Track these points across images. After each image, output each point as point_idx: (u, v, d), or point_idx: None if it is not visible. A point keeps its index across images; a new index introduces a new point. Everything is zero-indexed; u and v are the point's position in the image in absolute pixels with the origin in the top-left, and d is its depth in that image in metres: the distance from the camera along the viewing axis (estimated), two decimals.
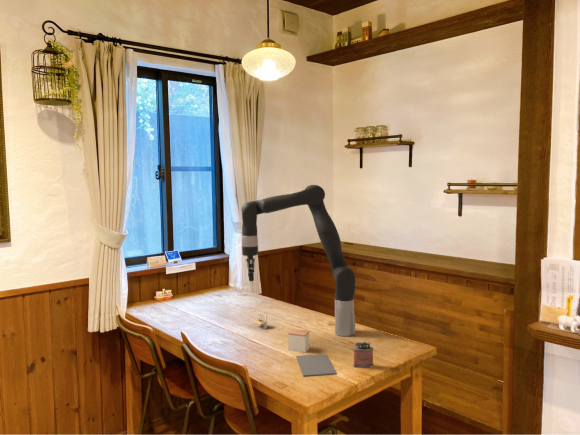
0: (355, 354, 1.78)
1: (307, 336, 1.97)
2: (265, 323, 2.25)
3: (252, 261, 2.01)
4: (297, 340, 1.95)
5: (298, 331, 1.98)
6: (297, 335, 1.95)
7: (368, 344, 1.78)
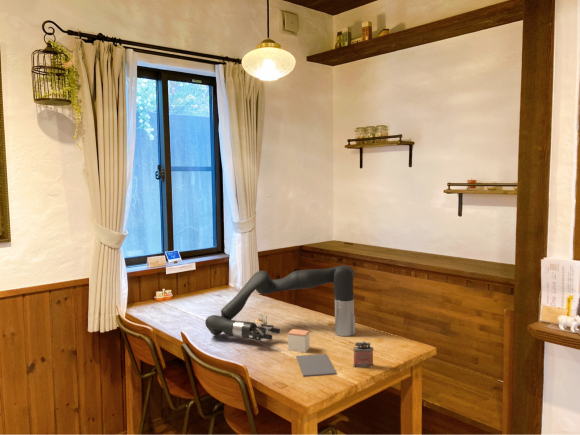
0: (355, 354, 1.78)
1: (307, 336, 1.97)
2: (265, 323, 2.25)
3: None
4: (297, 340, 1.95)
5: (298, 331, 1.98)
6: (297, 335, 1.95)
7: (368, 344, 1.78)
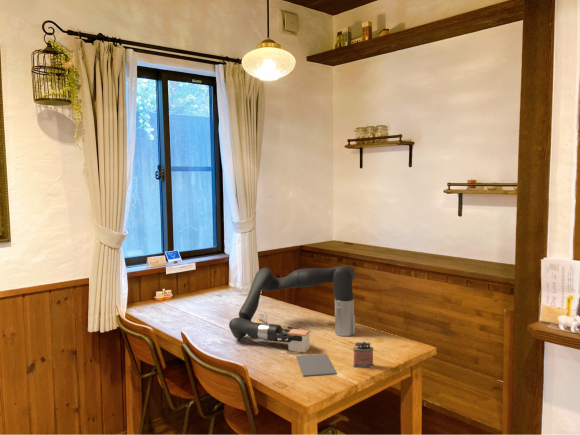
0: (355, 354, 1.78)
1: (307, 336, 1.97)
2: None
3: None
4: None
5: (298, 331, 1.98)
6: (297, 335, 1.95)
7: (368, 344, 1.78)
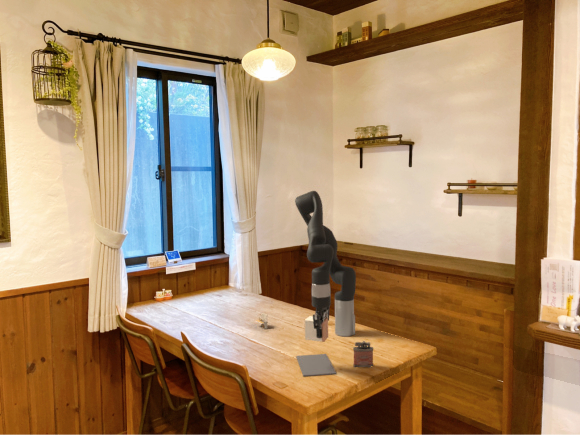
0: (355, 354, 1.78)
1: None
2: (265, 323, 2.26)
3: None
4: None
5: (326, 328, 1.78)
6: (322, 333, 1.75)
7: (368, 344, 1.78)
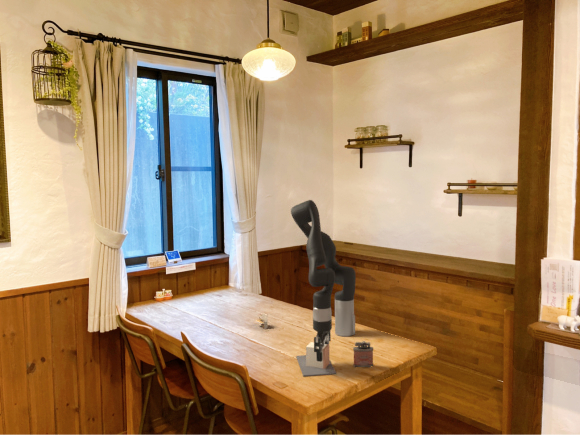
0: (355, 354, 1.78)
1: None
2: (266, 323, 2.26)
3: None
4: None
5: (327, 355, 1.78)
6: (323, 360, 1.76)
7: (368, 344, 1.78)
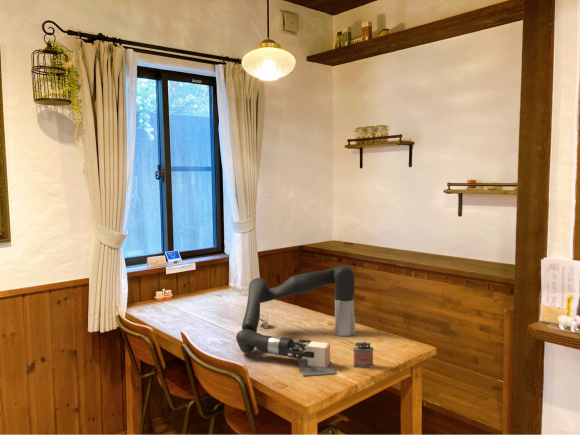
0: (355, 354, 1.78)
1: None
2: (266, 323, 2.26)
3: None
4: (319, 358, 1.78)
5: (328, 354, 1.80)
6: (325, 359, 1.77)
7: (368, 344, 1.78)
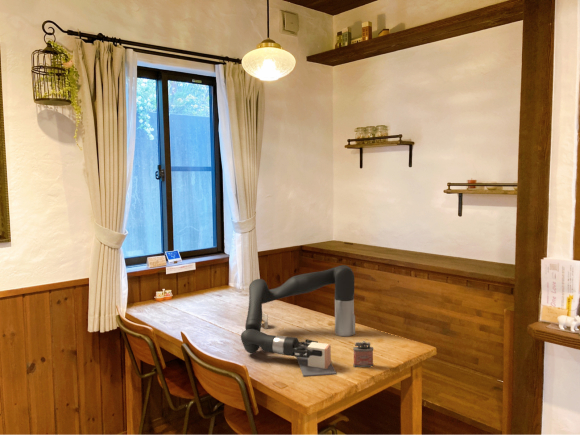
0: (355, 354, 1.78)
1: None
2: (266, 323, 2.26)
3: None
4: (319, 359, 1.77)
5: (329, 355, 1.78)
6: (325, 360, 1.76)
7: (368, 344, 1.78)
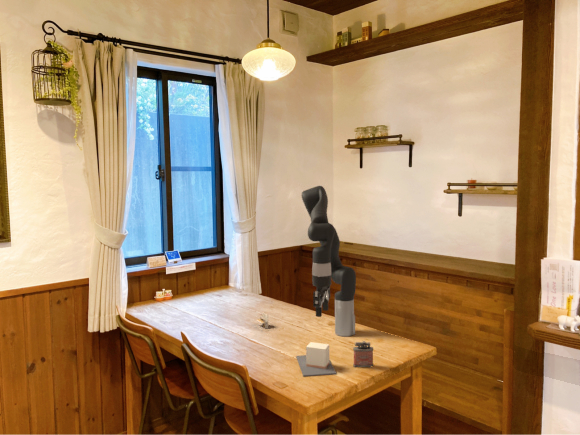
0: (355, 354, 1.78)
1: None
2: (266, 322, 2.26)
3: None
4: (314, 360, 1.77)
5: None
6: (314, 365, 1.78)
7: (368, 344, 1.78)
